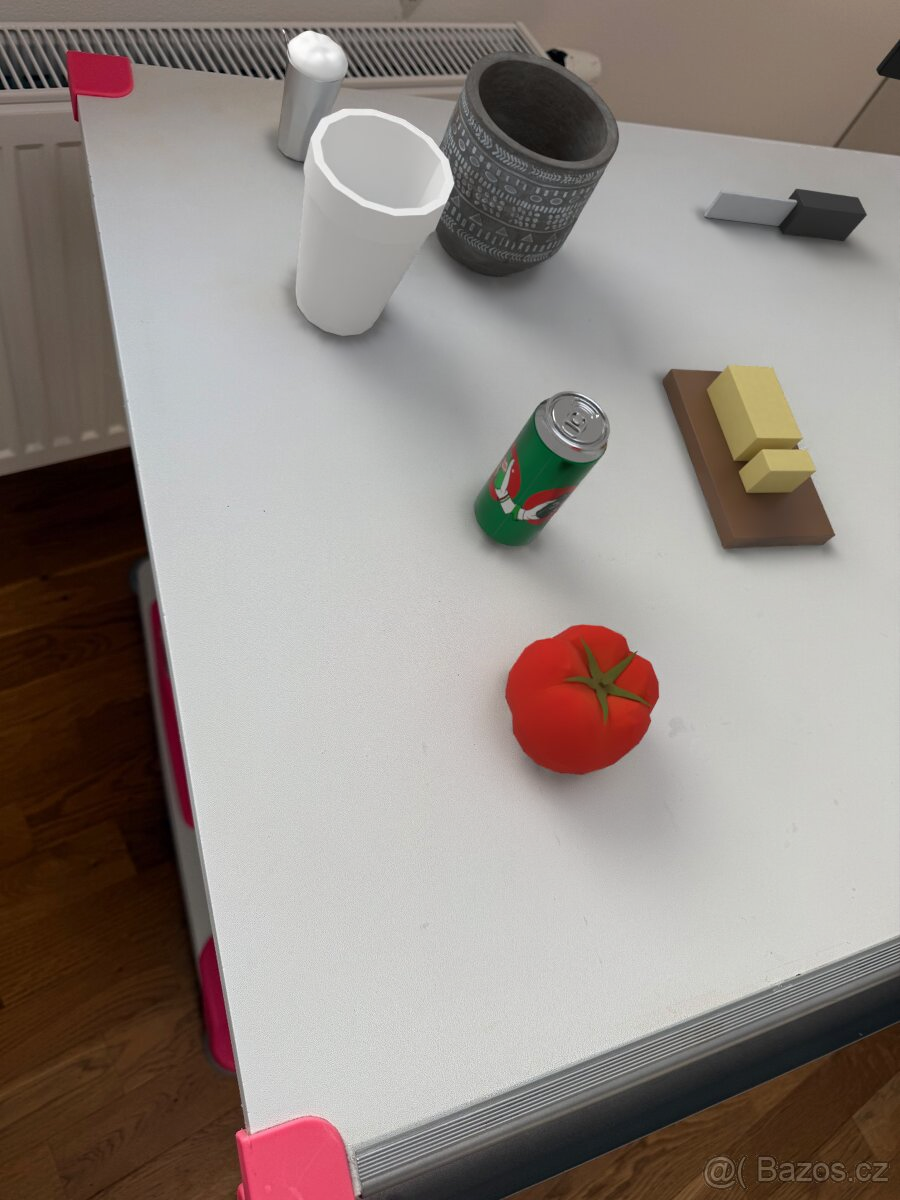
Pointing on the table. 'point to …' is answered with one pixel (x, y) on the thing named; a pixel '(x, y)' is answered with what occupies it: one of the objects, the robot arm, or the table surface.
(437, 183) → the foam cup
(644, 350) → the table surface
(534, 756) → the tomato
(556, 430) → the soda can
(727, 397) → the butter stick
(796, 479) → the butter pat
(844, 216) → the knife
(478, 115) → the planter
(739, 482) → the board
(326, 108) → the milkshake
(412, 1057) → the table surface
